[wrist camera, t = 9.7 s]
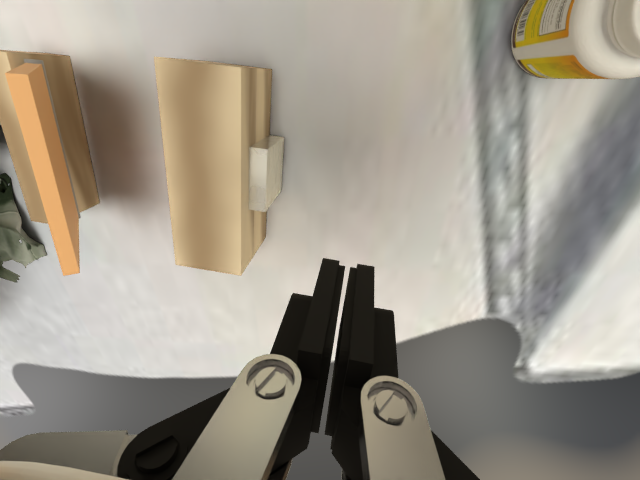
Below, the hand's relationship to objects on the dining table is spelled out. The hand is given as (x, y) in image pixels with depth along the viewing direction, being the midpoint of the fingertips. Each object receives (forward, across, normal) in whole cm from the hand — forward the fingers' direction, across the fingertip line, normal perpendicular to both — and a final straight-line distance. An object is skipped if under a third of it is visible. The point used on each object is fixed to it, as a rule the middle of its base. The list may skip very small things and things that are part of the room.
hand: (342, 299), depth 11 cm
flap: (+10, +19, +1) cm, 22 cm away
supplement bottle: (+18, -11, -10) cm, 23 cm away
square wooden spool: (+17, +16, +1) cm, 24 cm away
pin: (+17, +10, +1) cm, 20 cm away
